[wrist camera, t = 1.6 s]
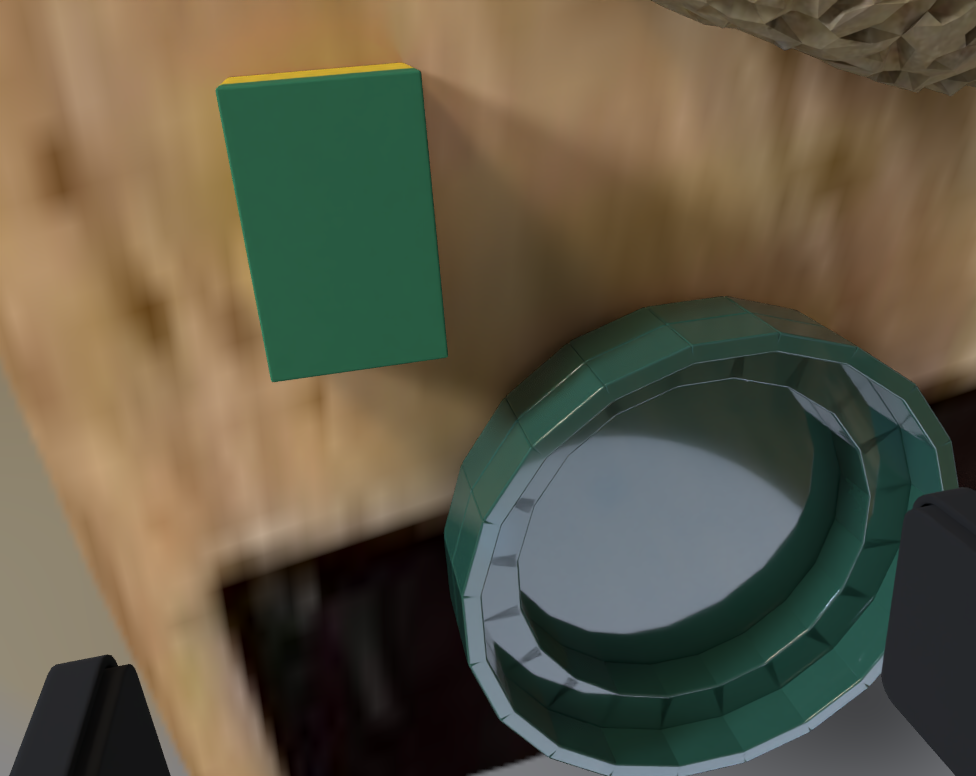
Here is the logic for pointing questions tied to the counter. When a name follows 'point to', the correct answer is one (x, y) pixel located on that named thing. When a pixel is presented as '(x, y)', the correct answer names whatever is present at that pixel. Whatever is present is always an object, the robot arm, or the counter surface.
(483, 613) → the bowl
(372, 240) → the small sponge
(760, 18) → the sponge
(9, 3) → the counter surface
